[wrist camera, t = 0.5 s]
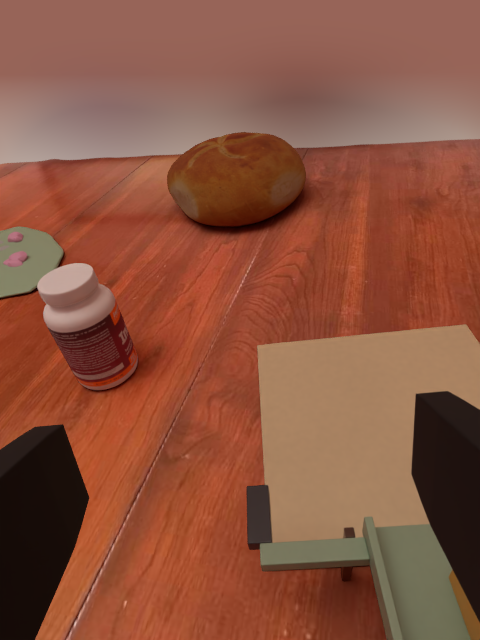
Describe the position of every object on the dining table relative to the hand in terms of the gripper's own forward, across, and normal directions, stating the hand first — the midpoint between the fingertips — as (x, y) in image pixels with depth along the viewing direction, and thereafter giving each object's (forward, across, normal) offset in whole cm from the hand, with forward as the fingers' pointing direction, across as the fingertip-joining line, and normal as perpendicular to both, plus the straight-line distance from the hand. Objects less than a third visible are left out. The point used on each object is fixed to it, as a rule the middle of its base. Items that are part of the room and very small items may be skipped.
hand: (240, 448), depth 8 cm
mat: (+20, -9, +15) cm, 27 cm away
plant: (+53, +39, +6) cm, 66 cm away
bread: (+64, +2, +3) cm, 64 cm away
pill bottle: (+29, +16, +13) cm, 35 cm away
